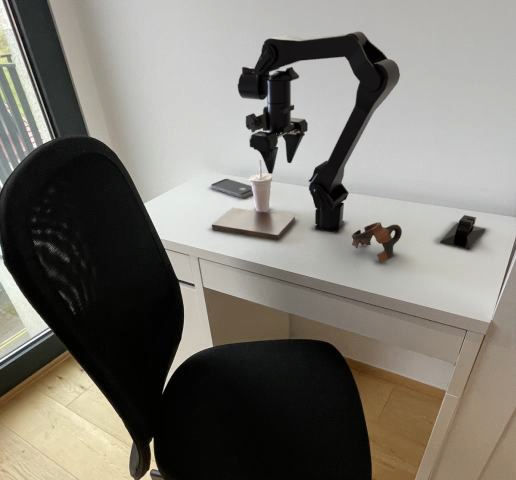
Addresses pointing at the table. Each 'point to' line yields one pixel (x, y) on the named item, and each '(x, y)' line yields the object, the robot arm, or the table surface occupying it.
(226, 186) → the phone
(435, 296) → the table surface
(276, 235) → the board
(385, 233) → the brown irregular piece
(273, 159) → the robot arm
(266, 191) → the smoothie
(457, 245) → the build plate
